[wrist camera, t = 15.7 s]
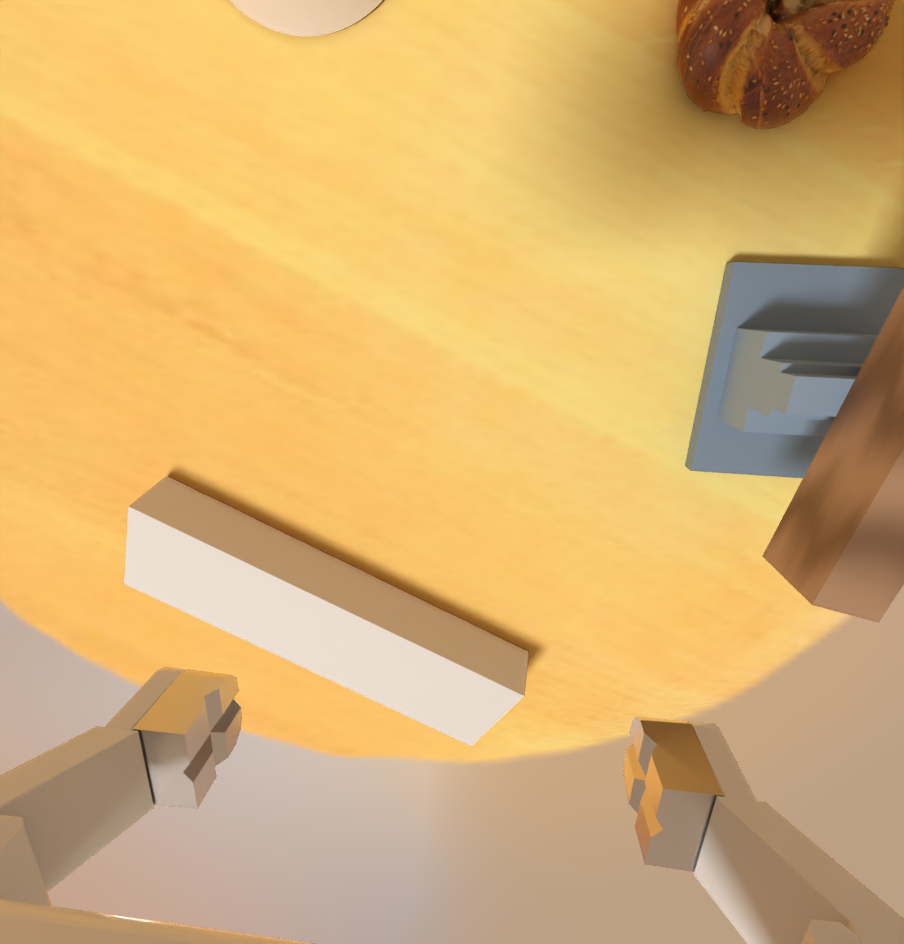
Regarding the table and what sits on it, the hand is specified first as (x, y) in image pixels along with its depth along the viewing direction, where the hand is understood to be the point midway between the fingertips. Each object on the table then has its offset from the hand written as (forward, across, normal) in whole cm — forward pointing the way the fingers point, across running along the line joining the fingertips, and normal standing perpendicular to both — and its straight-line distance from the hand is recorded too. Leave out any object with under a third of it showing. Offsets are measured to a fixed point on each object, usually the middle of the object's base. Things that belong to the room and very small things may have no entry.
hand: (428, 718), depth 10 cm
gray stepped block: (+29, -21, -4) cm, 36 cm away
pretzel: (+30, -15, -24) cm, 41 cm away
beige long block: (+30, +12, +19) cm, 37 cm away
